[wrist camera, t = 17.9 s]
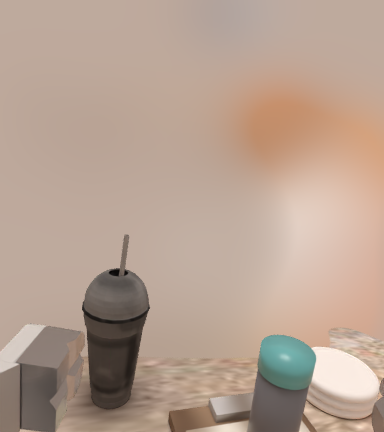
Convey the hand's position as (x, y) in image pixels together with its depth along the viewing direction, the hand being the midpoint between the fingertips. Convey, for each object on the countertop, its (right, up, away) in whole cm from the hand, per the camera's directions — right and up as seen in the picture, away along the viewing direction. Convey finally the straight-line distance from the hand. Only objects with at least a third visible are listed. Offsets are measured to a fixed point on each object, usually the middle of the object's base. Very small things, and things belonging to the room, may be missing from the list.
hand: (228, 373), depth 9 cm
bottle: (+6, -19, +23) cm, 30 cm away
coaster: (+18, -19, +36) cm, 45 cm away
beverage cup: (-11, -17, +32) cm, 37 cm away
